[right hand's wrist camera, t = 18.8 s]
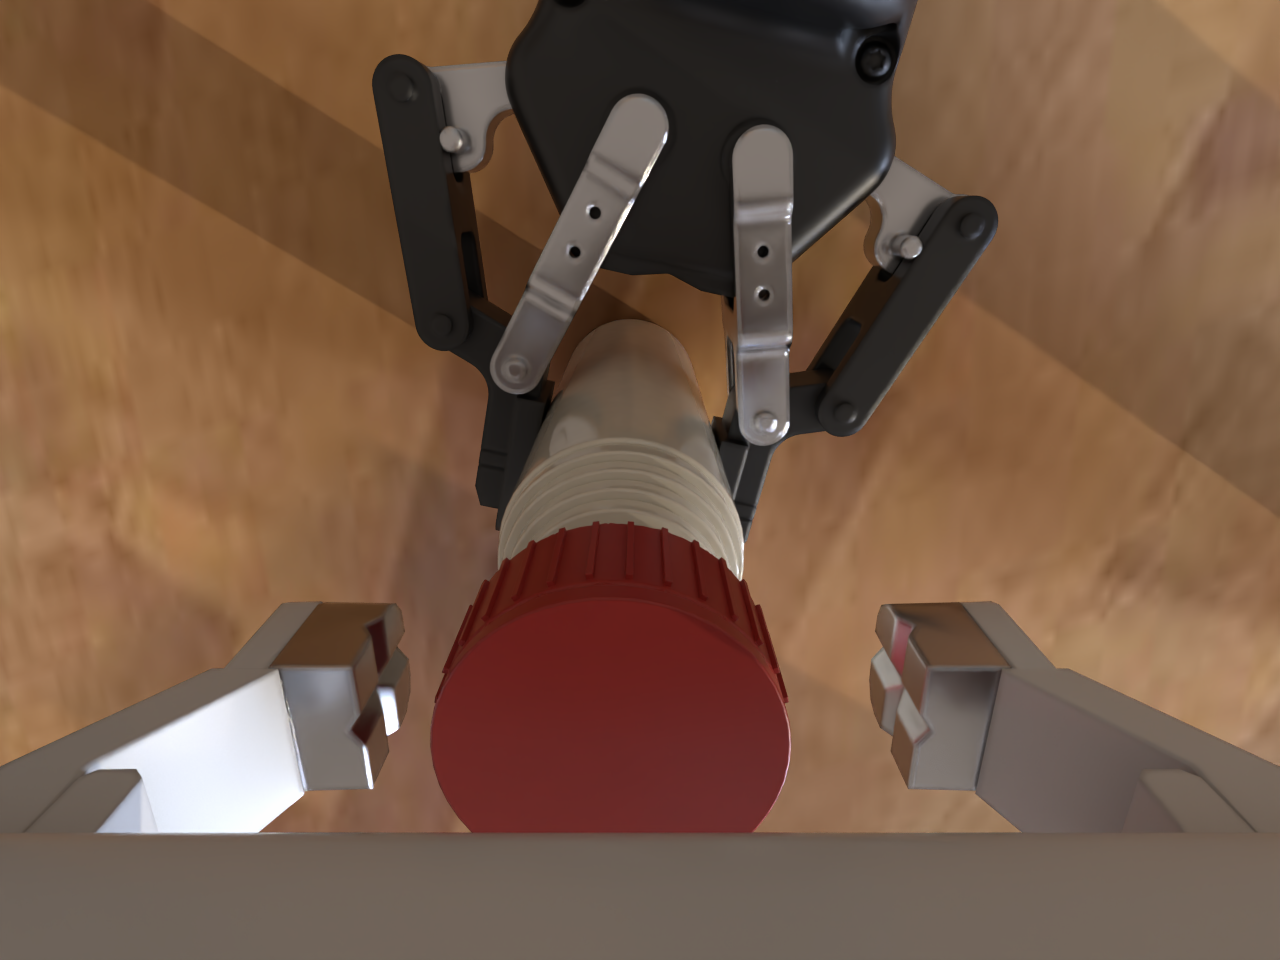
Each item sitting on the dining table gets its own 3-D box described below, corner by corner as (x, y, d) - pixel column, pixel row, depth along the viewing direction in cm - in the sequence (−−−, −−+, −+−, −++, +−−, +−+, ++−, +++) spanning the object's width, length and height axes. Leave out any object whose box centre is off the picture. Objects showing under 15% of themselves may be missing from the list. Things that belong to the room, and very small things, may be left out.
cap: (788, 749, 11) (819, 861, 9) (510, 796, 11) (484, 914, 9) (742, 488, 9) (767, 559, 7) (422, 551, 10) (370, 634, 8)
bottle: (545, 346, 24) (366, 631, 8) (668, 298, 24) (728, 508, 8) (594, 461, 26) (521, 891, 10) (711, 419, 25) (834, 802, 9)
